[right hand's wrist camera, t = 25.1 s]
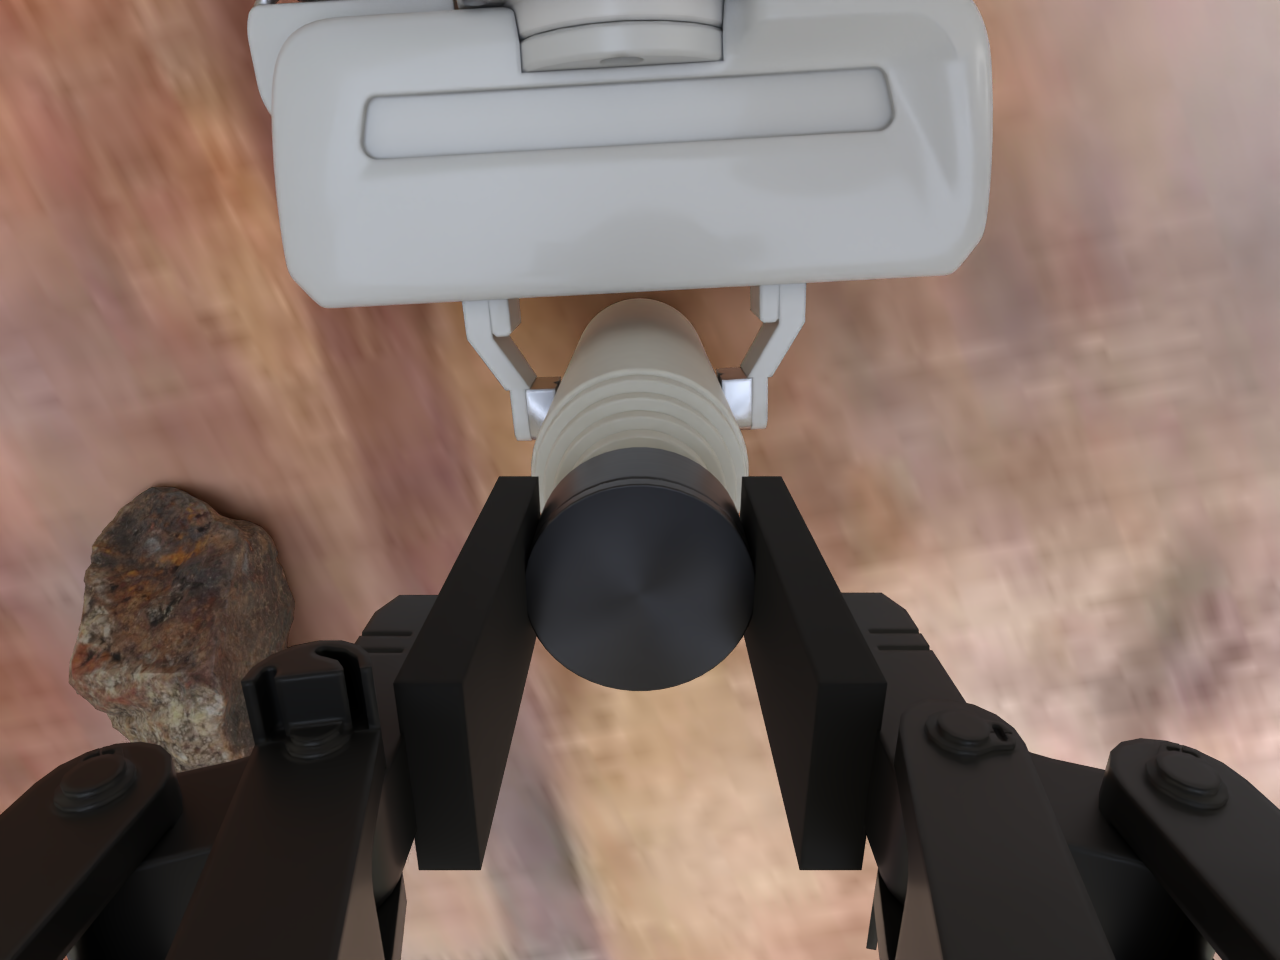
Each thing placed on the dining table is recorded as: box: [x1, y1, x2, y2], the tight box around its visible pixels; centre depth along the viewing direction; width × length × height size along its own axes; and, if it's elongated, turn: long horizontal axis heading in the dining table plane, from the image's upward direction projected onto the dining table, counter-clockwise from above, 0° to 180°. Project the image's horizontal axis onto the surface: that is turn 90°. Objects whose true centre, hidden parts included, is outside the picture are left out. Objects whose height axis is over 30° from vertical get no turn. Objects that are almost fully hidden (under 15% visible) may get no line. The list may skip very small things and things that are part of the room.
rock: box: [69, 487, 295, 773], centre depth 31 cm, size 14×9×10 cm
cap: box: [525, 447, 755, 691], centre depth 14 cm, size 4×4×2 cm
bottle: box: [531, 298, 749, 514], centre depth 22 cm, size 5×5×19 cm
